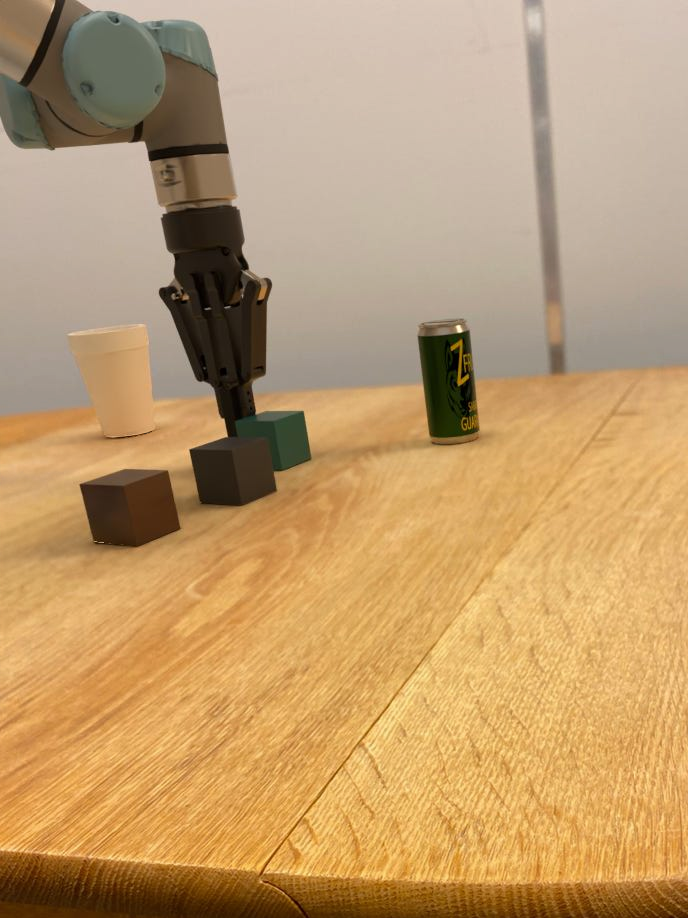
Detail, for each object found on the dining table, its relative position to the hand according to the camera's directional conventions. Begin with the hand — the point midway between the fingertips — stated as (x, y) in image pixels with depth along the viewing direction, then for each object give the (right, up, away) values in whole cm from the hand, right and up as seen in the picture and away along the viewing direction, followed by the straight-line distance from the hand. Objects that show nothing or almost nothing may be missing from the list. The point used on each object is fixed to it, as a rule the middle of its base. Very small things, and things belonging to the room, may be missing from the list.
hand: (244, 449), depth 111 cm
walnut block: (-4, -11, -23) cm, 26 cm away
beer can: (+22, +1, +1) cm, 22 cm away
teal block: (+4, -2, -1) cm, 4 cm away
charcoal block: (+2, -7, -13) cm, 15 cm away
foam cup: (-21, +7, +27) cm, 34 cm away
